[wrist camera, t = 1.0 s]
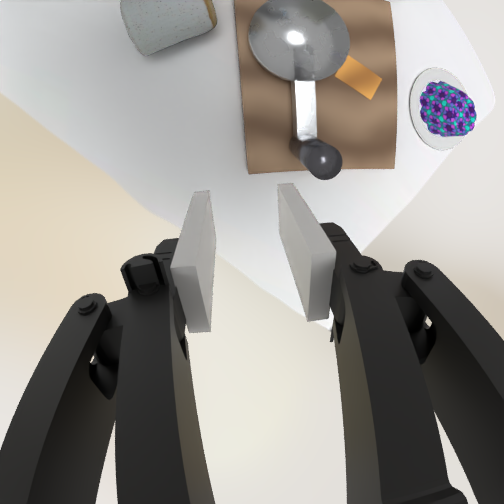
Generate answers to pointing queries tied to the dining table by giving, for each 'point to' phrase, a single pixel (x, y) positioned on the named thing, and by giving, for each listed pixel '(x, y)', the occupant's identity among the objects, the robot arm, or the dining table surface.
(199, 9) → the ceramic mug
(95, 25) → the dining table surface
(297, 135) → the steel serving spoon
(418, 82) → the pudding
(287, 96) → the wooden cutting board
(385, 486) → the robot arm
